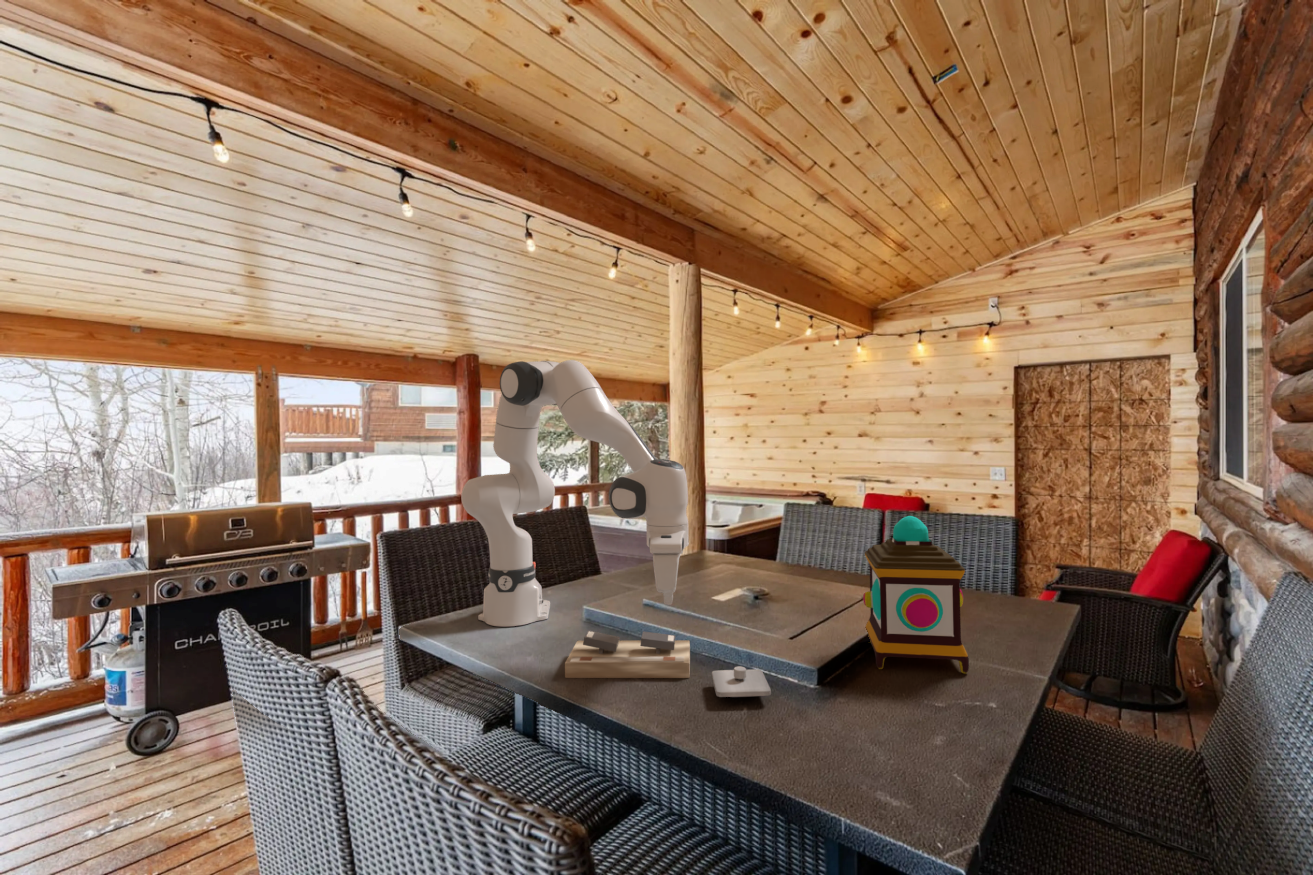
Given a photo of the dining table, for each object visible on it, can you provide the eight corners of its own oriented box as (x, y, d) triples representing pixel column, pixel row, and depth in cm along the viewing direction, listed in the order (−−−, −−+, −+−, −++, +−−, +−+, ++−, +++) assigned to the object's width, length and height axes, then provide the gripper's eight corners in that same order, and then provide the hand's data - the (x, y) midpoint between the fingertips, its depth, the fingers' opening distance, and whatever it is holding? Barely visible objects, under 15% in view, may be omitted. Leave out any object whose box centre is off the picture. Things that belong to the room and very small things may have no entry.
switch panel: (577, 653, 134) (577, 636, 134) (690, 653, 133) (689, 635, 133) (565, 677, 121) (564, 657, 121) (689, 677, 120) (688, 657, 120)
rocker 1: (586, 637, 130) (588, 629, 130) (618, 644, 129) (619, 636, 129) (582, 644, 125) (584, 636, 125) (615, 651, 125) (617, 643, 125)
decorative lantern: (858, 638, 140) (855, 509, 140) (950, 642, 136) (947, 509, 136) (871, 672, 121) (867, 522, 120) (978, 678, 116) (975, 523, 116)
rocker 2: (642, 638, 129) (643, 630, 129) (674, 642, 129) (675, 635, 129) (640, 645, 125) (641, 637, 125) (674, 650, 124) (674, 642, 124)
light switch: (772, 706, 107) (771, 677, 107) (717, 707, 107) (716, 679, 107) (761, 683, 117) (761, 657, 117) (711, 684, 117) (710, 658, 117)
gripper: (655, 528, 137) (656, 589, 137) (649, 546, 117) (650, 617, 117) (683, 528, 137) (684, 589, 137) (681, 546, 116) (682, 617, 116)
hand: (668, 602), depth 127 cm, fingers closed
